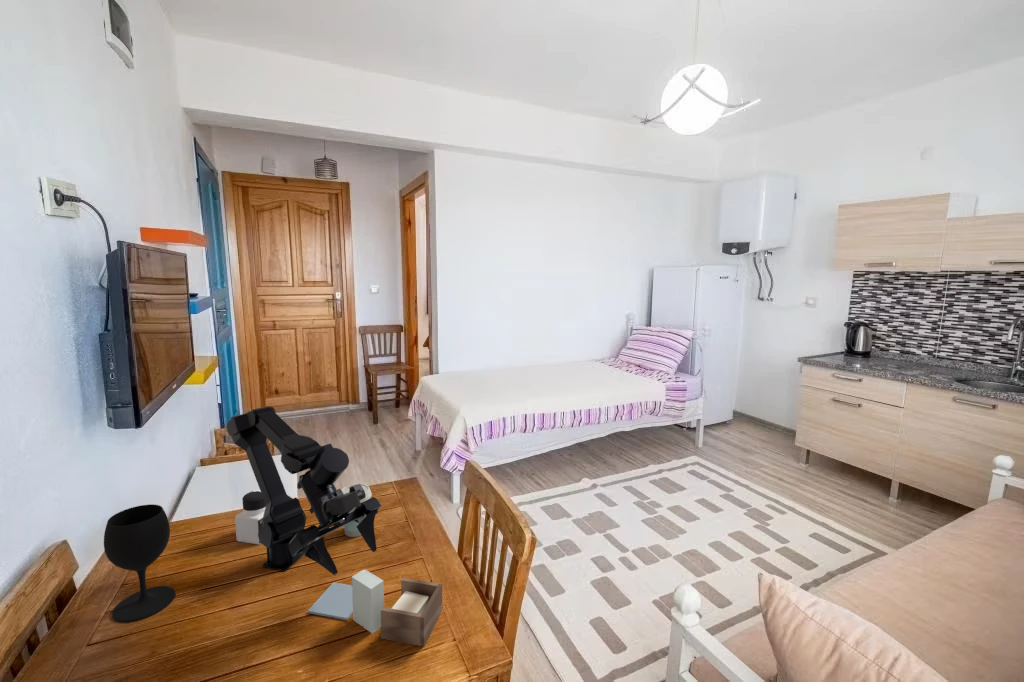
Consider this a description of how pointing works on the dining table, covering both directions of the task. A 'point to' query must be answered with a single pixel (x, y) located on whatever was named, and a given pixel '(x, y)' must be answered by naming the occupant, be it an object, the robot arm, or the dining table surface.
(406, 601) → the offcut stack
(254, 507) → the medicine bottle
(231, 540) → the dining table surface
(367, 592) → the pale grey rectangular block
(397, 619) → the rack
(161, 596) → the wine glass
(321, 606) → the mat
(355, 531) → the coffee cup
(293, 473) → the robot arm
